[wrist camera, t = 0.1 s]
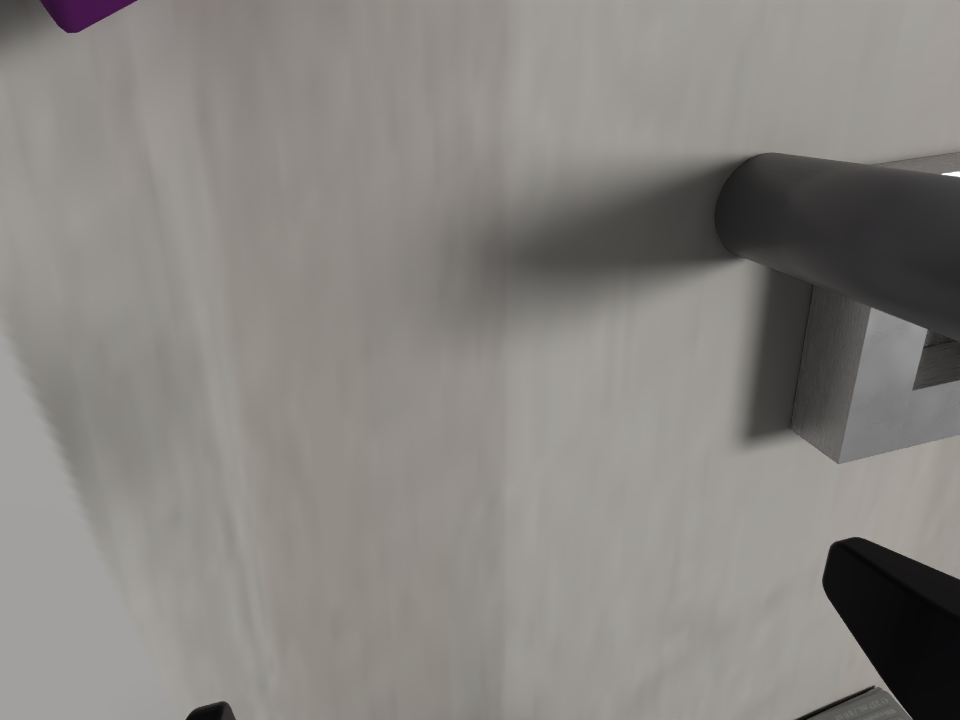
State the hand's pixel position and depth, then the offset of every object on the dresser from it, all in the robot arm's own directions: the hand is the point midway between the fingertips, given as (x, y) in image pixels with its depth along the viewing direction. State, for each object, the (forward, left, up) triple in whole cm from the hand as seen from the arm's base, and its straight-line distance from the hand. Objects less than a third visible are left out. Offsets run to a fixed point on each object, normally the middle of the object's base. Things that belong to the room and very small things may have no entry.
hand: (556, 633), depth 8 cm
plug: (+2, -14, -15) cm, 20 cm away
